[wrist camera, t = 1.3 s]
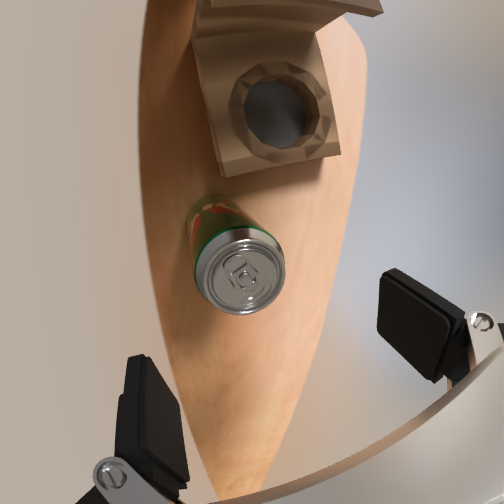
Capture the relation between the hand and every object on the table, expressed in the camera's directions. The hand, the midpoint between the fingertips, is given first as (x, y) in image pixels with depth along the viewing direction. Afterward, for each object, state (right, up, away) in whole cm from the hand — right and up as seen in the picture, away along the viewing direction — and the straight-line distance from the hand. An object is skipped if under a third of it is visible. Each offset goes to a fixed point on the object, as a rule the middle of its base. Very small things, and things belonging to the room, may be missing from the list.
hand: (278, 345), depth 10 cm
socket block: (0, +18, +12) cm, 21 cm away
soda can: (-4, +6, +15) cm, 17 cm away
